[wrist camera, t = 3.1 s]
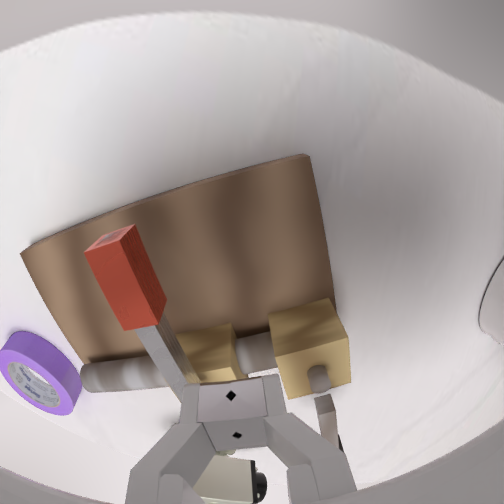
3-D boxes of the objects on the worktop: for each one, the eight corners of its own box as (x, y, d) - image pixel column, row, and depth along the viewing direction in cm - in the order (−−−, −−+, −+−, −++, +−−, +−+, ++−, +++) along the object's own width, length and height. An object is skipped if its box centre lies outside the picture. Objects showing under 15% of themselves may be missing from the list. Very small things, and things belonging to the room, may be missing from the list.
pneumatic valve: (175, 414, 31) (164, 499, 20) (262, 432, 33) (270, 510, 22) (167, 433, 33) (157, 508, 22) (247, 449, 35) (251, 520, 24)
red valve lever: (138, 220, 14) (119, 240, 11) (224, 400, 19) (224, 431, 17) (106, 231, 14) (83, 252, 11) (199, 404, 20) (196, 434, 17)
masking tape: (98, 396, 30) (90, 419, 26) (42, 394, 30) (33, 413, 27) (48, 325, 25) (33, 347, 22) (-3, 333, 26) (-17, 350, 22)
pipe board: (302, 153, 20) (358, 175, 11) (340, 393, 31) (363, 462, 21) (31, 244, 21) (-36, 299, 12) (149, 426, 32) (137, 489, 23)
